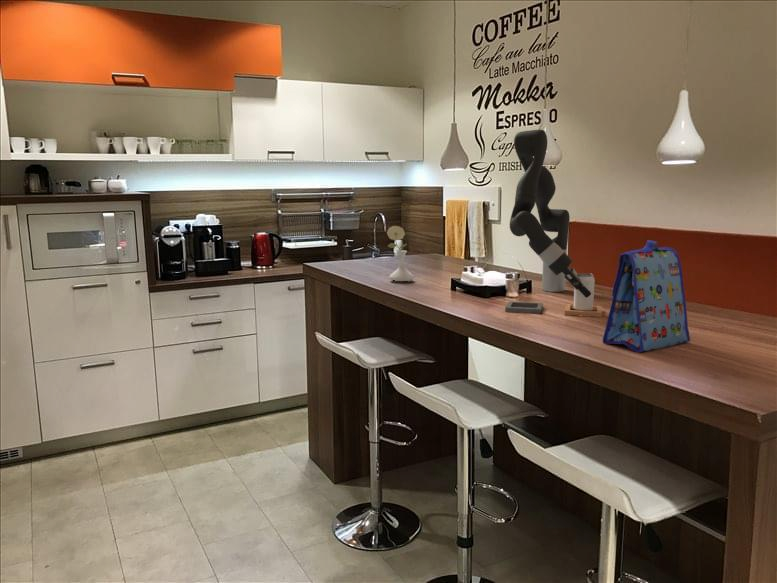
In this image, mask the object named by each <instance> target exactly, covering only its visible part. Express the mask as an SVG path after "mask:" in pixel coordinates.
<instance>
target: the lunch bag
mask: <svg viewBox="0 0 777 583" xmlns="http://www.w3.org/2000/svg"><path fill="white" fill-rule="evenodd" d="M658 246H659V244H658V241H654V240H649V239H648V240H647V241H646V244H645V246H644V247H643V248H639V249H636V250H634V249H633V250H629V251H626V252H624V253H621V254H620V255H619V258H618V267H617V270H616V271H617V272H616V275H615V276H616V277H615V279H614V283H613V287H612V293H611V294H612V300H611V305H610V308H609V312H608V317H607V321H606V325H605V329H604V332H603V336H602V343H603V344H604V345H610V344H611V345H612V344H613V345H615V344H617V345H624V346H627V347H628V348H629V349H631V350H633V351H635V352H636V353H642V352H648V351H652V350H658V349H662V348H667V347H672V346H675V345H680V344H683V343H684V344H685V343H688V342H690V340H691V336H690V331H689V326H688V325H689V324H688V312H687V304H686V296H685V295H686V294H685V287H684V277H683V269H682V263H681V260H680V256H679V253H678V251H677V250H675V249H674V248H672V247H668V246H663V247H658Z"/></svg>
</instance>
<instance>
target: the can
mask: <svg viewBox="0 0 777 583" xmlns="http://www.w3.org/2000/svg"><path fill="white" fill-rule="evenodd" d="M577 275H578V277H579V278H580V281H581V282H582V283H583V284H584V286H585V287H586V288H587V289H588V290H589V291H590V292H591V295H590V296H589V297H587V298H586V297H585V296H584V295H583V294H582V293H581V292H580V291H579V290H577V289H575V287H574V289H573V290H574V291H573V305H574V306H573V308H574V309H575V310H576V311H590V310H592V309H593V306H594V300H595V299H594V298H595V282H596V281H595V277H594V274H592V273H578V274H577ZM577 284H579V283H577ZM577 284H576V285H577Z"/></svg>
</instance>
